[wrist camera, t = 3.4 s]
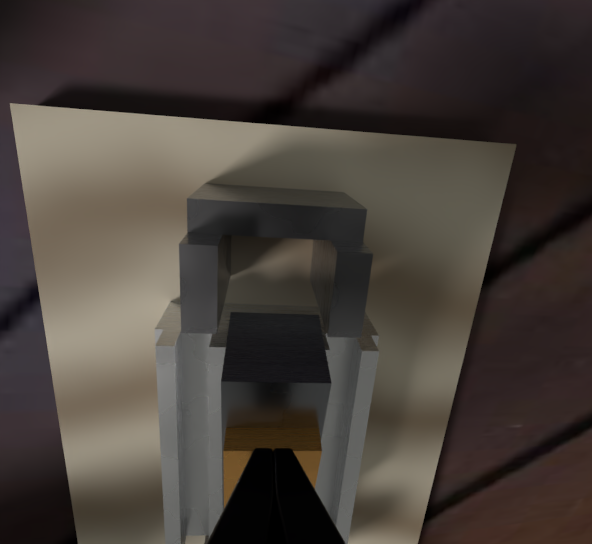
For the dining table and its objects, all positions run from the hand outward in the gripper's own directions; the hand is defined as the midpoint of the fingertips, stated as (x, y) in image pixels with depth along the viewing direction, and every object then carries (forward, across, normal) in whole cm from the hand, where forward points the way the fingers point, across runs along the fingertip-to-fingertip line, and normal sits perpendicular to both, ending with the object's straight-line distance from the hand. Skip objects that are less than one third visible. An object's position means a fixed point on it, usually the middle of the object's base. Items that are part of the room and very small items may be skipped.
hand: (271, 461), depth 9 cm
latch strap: (+4, 0, +6) cm, 7 cm away
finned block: (+8, 0, +5) cm, 9 cm away
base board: (+9, 0, +5) cm, 11 cm away
